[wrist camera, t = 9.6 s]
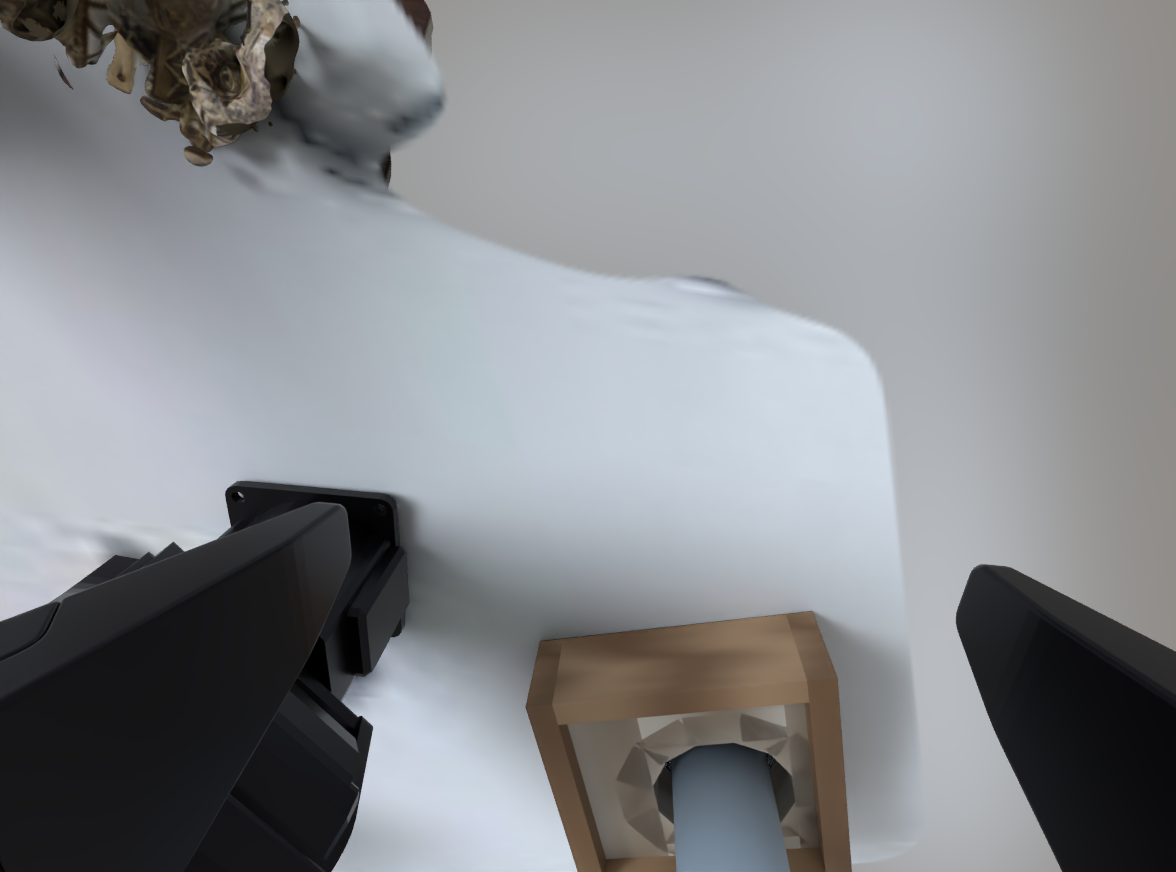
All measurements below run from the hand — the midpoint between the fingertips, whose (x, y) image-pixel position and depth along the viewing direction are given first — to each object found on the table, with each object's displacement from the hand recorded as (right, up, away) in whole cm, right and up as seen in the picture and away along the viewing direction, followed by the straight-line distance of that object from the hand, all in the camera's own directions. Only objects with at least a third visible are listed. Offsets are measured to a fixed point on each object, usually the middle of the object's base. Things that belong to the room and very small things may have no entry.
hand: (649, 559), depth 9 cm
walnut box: (+4, -11, +18) cm, 22 cm away
